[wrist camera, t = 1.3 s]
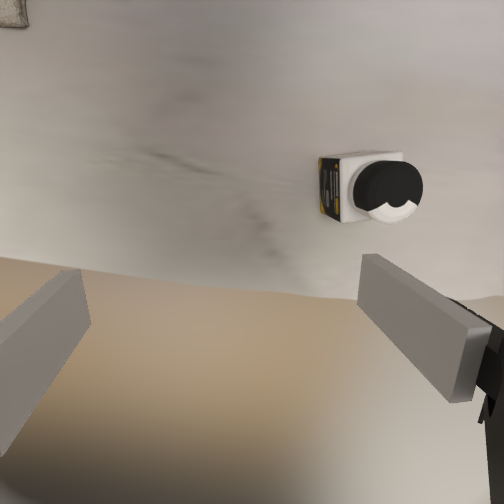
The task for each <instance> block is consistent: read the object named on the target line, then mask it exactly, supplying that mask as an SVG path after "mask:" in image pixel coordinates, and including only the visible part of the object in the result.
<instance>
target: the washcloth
mask: <svg viewBox="0 0 504 504" xmlns="http://www.w3.org/2000/svg"><path fill="white" fill-rule="evenodd" d="M24 1H25V0H0V26H2V27H5V26H8V27H25V26H26V25H27V26H29V25H28V24H27V17H26V11H25V2H24Z"/></svg>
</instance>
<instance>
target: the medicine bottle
mask: <svg viewBox="0 0 504 504" xmlns="http://www.w3.org/2000/svg"><path fill="white" fill-rule="evenodd" d="M319 174H320V202H321V212H322V213H324V214H326V215H328V216H330V217H331V218H333V219H335V220H337V221H339V222H341V223H351V222H358V221H365V220H372V219H373V220H375V221H378V222H380V223H384V224H394V223H398V222H400V221H402V220H404V219H406V218H407V217H409V216H410V215H411V214H412V213H413V212H414V210H415V209H416V208H417V206H418V204H419V202H420V200H421V197H422V192H423V182H422V178H421V175H420V173H419V172H418V170H417V169H416V168H415V167H414V166H413V165H411V164H409V163H407V162H403V152H401V151H367V152H358V153H350V154H342V155H333V156H325V157H320V159H319Z"/></svg>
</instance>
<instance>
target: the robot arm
mask: <svg viewBox="0 0 504 504" xmlns="http://www.w3.org/2000/svg"><path fill="white" fill-rule="evenodd" d="M357 305H358V306H359V307H360V308H361V309H362V310H363V311H364V312H365V313H366V314H367V316H368V317H369V318H370V319H371V320H372V321H373V322H374V323H375V324H376V325H377V326H378V327H379V328H380V329H381V330H382V332H383V333H384V334H385V335H386V336H387V337H388V338H389V339H390V340H391V341H392V342H393V343H394V344H395V345H396V346H397V347H398V349H399V350H400V351H401V352H402V353H403V354H404V355H405V356H406V357H407V358H408V359H409V360H410V361H411V362H412V363H413V365H414V366H415V367H416V368H417V369H418V370H419V371H420V372H421V373H422V374H423V375H424V376H425V377H426V378H427V380H429V382H430V383H431V384H432V385H433V386H434V387H435V388H436V389H437V390H438V391H439V392H440V393H441V394H442V395H443V396H444V398H445V399H446V400H447V401H448V402H449V403H458V402H466V401H472V398H473V394H474V391H475V387H476V385H477V386H478V387H479V388H481V389H482V390H483V391H484V392H485V393H486V396H485V399H484V403H483V406H482V410H481V413H480V416H479V420H478V423H480V424H482V423H483V420H484V421H485V434H486V446H487V460H488V473H489V486H490V500H491V504H504V330H502V329H500V328H499V327H497V326H496V325H494V324H493V323H491V322H489V321H488V320H486V319H485V318H483V317H481V316H480V315H476V313H475V312H473V311H472V310H470V309H467V307H465V306H464V305H462V304H460V303H459V302H457V301H455V300H453V299H450V298H448V297H445V296H443V295H442V294H440V293H439V292H437V291H436V290H434V289H432V288H431V287H429V286H428V285H426V284H424V283H423V282H421V281H420V280H418V279H417V278H415V277H413V276H412V275H410V274H409V273H407V272H406V271H404V270H402V269H401V268H399V267H398V266H396V265H395V264H393V263H391V262H390V261H388V260H387V259H385V258H383V257H382V256H380V255H379V254H363V255H362V264H361V273H360V282H359V291H358V299H357ZM90 325H91V320H90V315H89V310H88V305H87V300H86V295H85V290H84V286H83V280H82V276H81V270H80V269H77V270H62V271H60V272H59V273H58V274H57V275H56V276H54V277H53V278H52V279H51V280H50V281H48V282H47V283H46V284H45V285H44V286H42V287H41V288H40V289H39V290H38V291H36V293H34V294H33V295H32V296H31V297H29V298H28V299H27V300H26V301H24V302H23V303H22V304H21V305H20V306H18V307H17V308H16V309H15V310H14V311H12V312H11V313H10V314H9V315H8V316H7V317H5V318H4V319H3V320H2V321H1V322H0V456H3V455H4V453H5V452H6V451H7V449H8V448H9V446H10V445H11V443H12V442H13V440H14V439H15V437H16V436H17V434H18V433H19V431H20V430H21V428H22V427H23V425H24V424H25V422H26V421H27V419H28V417H29V416H30V415H31V413H32V412H33V410H34V409H35V407H36V406H37V404H38V403H39V401H40V399H41V398H42V397H43V395H44V394H45V392H46V391H47V389H48V388H49V386H50V385H51V383H52V382H53V380H54V379H55V377H56V375H57V374H58V373H59V371H60V370H61V368H62V367H63V365H64V364H65V362H66V361H67V359H68V358H69V356H70V355H71V353H72V352H73V350H74V349H75V347H76V346H77V344H78V343H79V341H80V340H81V338H82V337H83V335H84V334H85V332H86V331H87V329H88V328H89V326H90Z"/></svg>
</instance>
